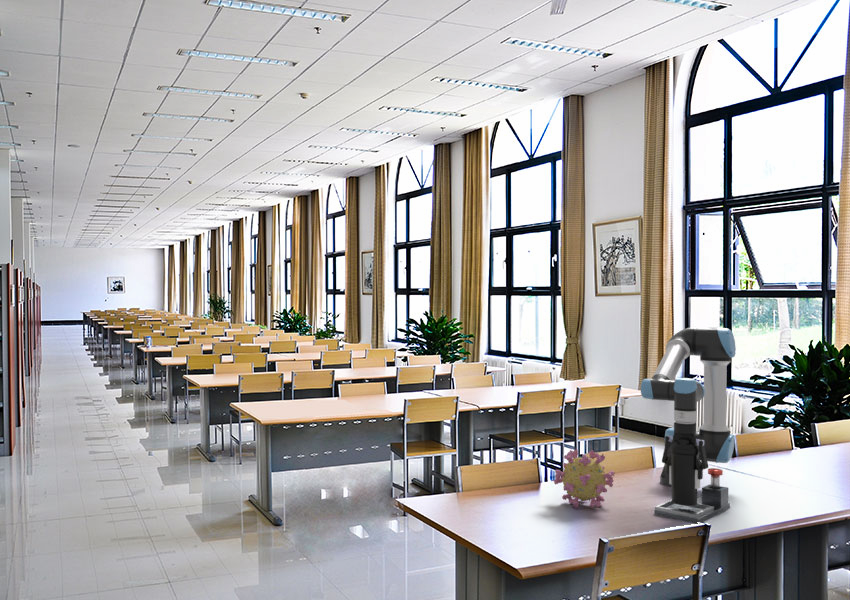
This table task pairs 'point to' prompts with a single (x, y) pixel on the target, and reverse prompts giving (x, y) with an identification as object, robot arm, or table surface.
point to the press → (697, 506)
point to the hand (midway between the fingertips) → (684, 485)
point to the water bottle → (683, 472)
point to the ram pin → (715, 477)
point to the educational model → (584, 478)
